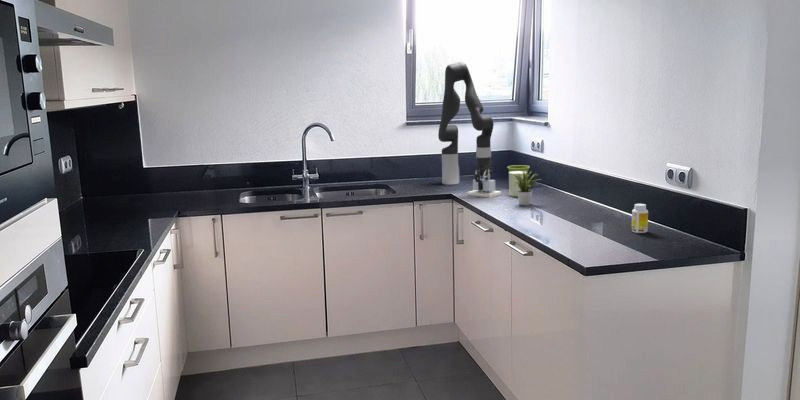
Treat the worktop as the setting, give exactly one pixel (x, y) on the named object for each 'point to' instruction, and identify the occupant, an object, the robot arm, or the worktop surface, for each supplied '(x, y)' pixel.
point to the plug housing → (485, 185)
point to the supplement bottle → (640, 218)
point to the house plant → (524, 188)
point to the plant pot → (518, 168)
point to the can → (511, 185)
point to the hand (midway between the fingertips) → (484, 189)
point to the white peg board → (484, 193)
